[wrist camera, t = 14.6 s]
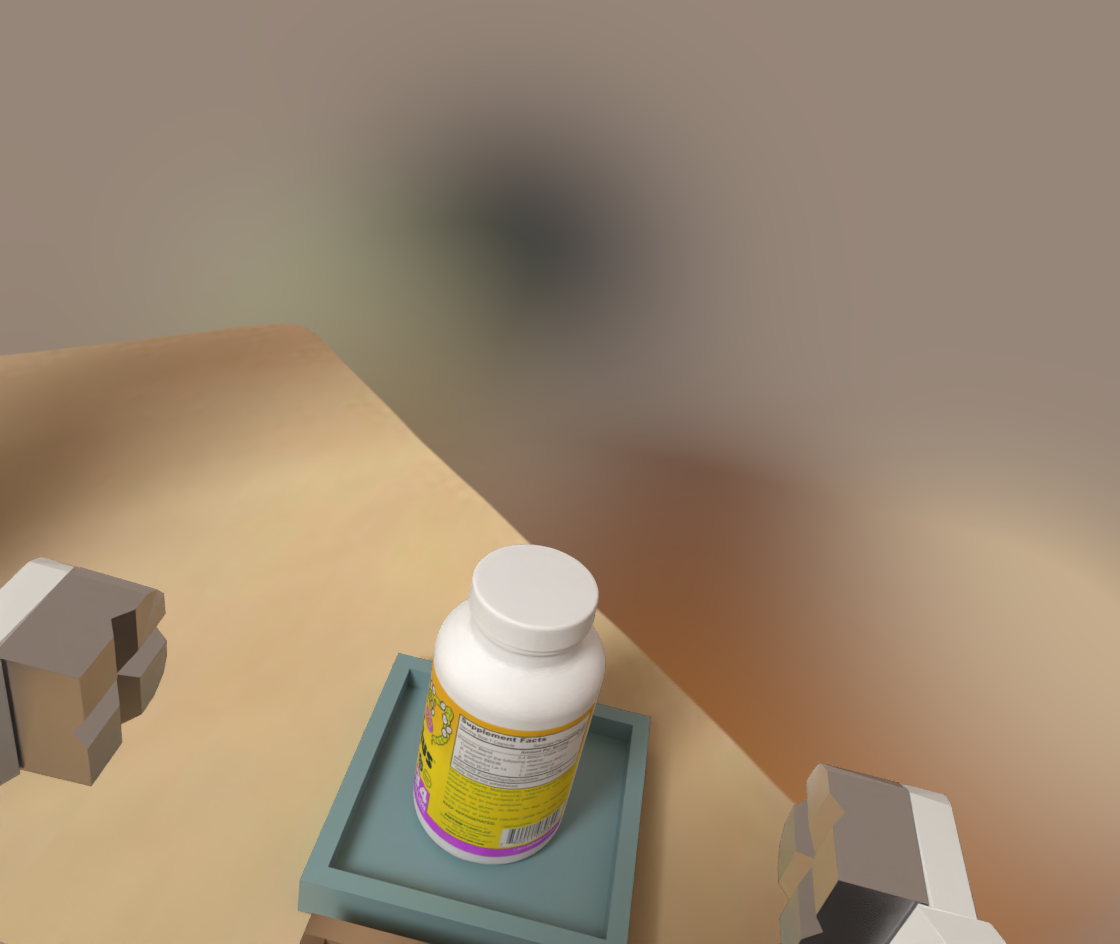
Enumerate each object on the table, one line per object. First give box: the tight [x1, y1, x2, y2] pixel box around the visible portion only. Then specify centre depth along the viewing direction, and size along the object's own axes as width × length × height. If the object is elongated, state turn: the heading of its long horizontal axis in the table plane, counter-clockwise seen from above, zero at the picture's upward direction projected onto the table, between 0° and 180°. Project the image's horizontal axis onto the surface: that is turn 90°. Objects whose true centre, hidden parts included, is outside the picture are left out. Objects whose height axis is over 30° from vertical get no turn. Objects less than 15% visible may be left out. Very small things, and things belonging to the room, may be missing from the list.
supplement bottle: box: [413, 544, 605, 865], centre depth 39 cm, size 7×7×13 cm
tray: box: [298, 653, 651, 944], centre depth 42 cm, size 13×13×2 cm
